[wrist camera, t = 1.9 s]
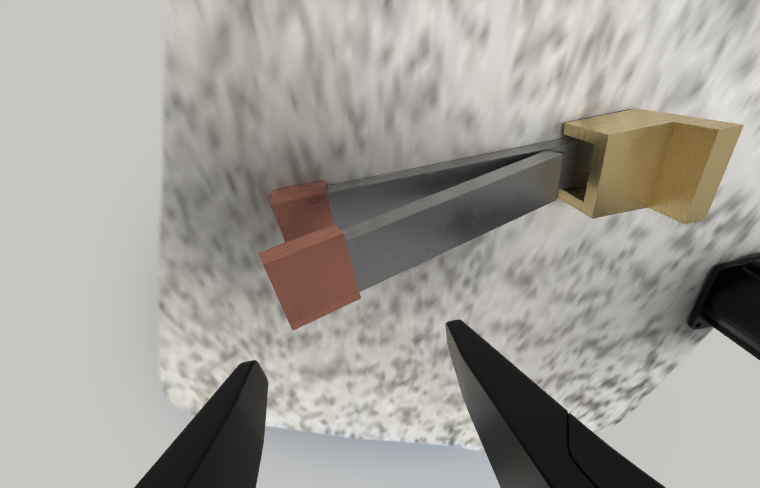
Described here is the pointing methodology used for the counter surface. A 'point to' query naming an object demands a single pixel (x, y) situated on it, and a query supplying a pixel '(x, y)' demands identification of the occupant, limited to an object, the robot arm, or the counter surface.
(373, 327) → the counter surface
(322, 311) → the upper tong arm
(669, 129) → the collar
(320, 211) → the tong base
